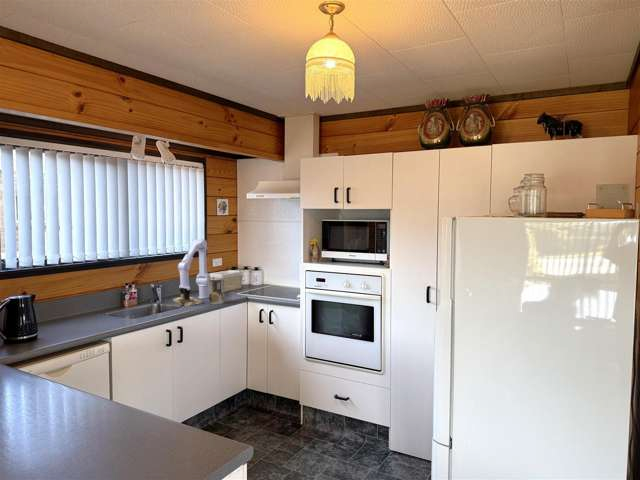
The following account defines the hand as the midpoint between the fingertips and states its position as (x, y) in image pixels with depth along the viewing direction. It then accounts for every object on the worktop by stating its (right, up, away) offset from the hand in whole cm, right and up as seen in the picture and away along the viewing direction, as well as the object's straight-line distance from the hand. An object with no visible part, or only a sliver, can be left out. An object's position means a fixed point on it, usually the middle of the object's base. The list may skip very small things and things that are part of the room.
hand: (185, 299), depth 309 cm
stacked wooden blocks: (+1, -4, +1) cm, 4 cm away
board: (-1, -4, +8) cm, 9 cm away
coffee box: (+21, -3, +2) cm, 22 cm away
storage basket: (+17, 0, +54) cm, 56 cm away
